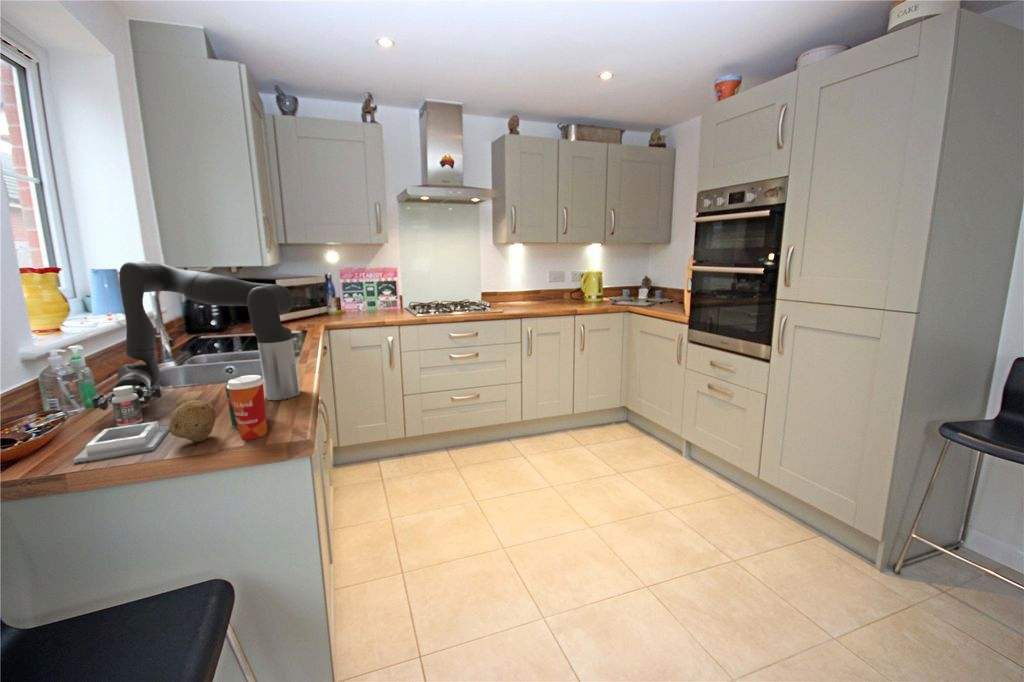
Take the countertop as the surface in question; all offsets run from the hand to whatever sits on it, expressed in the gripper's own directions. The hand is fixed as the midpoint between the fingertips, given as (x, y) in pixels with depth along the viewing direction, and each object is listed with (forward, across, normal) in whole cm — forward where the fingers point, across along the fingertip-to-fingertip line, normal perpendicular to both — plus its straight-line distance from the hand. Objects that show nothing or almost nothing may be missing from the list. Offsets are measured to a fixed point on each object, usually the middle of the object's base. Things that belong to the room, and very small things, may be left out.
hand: (125, 402), depth 119 cm
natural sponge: (+24, +15, +6) cm, 29 cm away
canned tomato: (+18, +26, +6) cm, 32 cm away
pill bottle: (-1, 0, +6) cm, 6 cm away
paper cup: (+28, +26, +6) cm, 39 cm away
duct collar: (+16, +1, +6) cm, 17 cm away
